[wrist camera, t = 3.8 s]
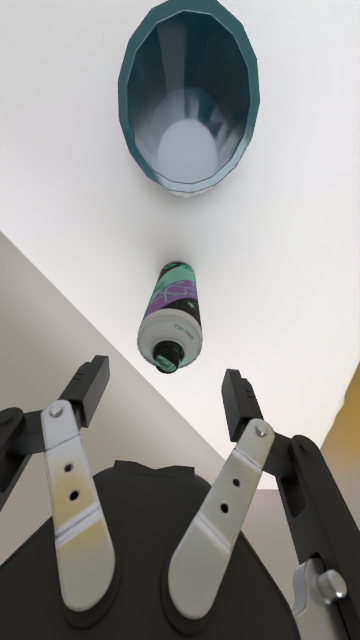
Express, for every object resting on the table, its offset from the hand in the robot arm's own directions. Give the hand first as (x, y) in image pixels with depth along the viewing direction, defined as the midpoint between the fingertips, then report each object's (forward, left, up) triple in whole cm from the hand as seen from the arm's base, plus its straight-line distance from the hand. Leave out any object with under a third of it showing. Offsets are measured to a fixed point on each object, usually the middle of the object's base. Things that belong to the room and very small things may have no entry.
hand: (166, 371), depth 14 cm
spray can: (0, 0, -21) cm, 21 cm away
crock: (-6, +15, -21) cm, 26 cm away
